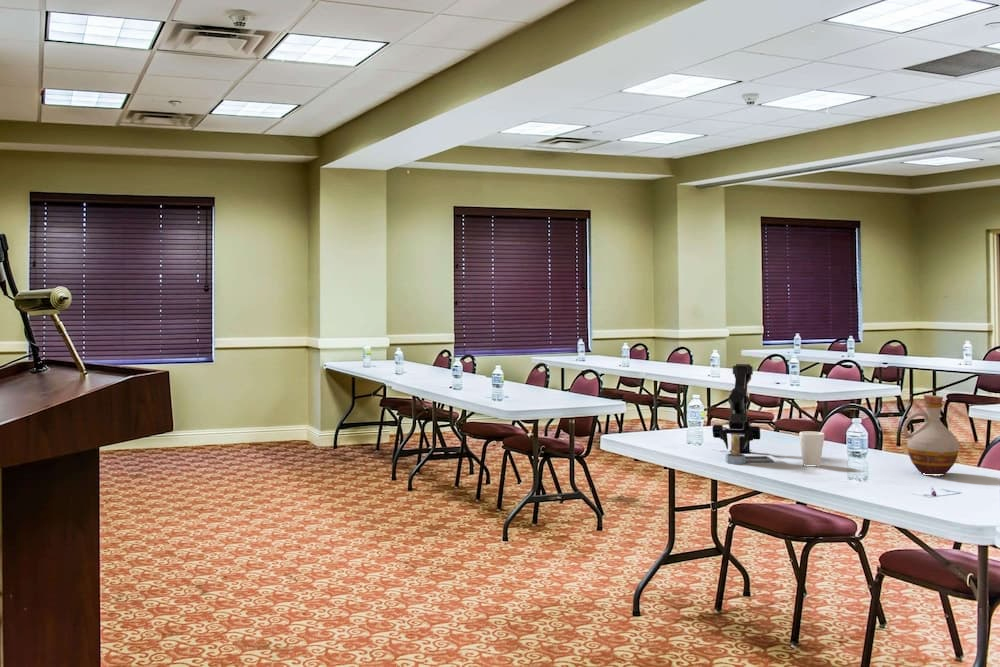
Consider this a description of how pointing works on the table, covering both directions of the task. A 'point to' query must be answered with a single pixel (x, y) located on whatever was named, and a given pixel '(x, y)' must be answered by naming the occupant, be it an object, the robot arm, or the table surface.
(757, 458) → the tray
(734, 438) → the dowel
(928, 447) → the jug
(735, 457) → the gray square block
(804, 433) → the foam cup
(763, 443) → the table surface
